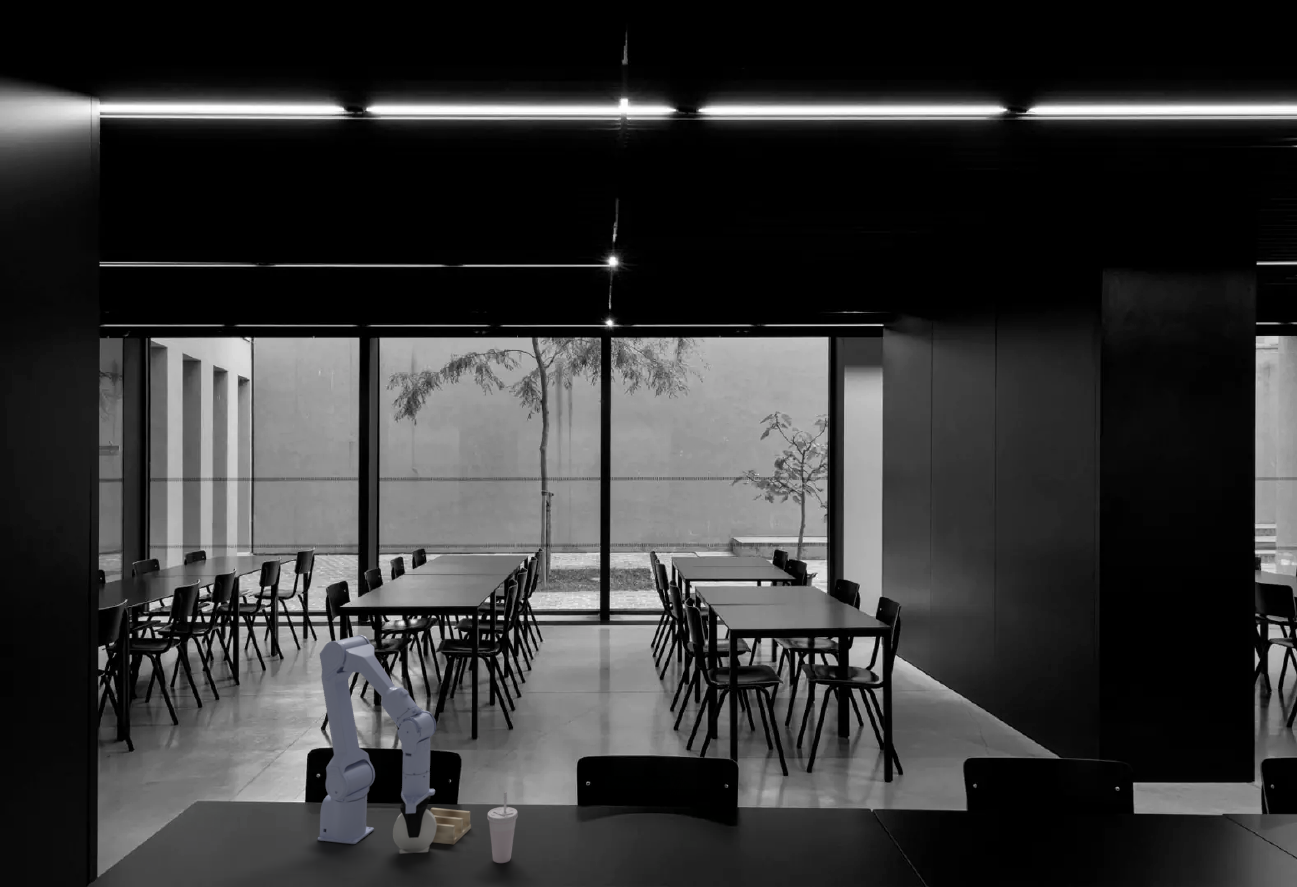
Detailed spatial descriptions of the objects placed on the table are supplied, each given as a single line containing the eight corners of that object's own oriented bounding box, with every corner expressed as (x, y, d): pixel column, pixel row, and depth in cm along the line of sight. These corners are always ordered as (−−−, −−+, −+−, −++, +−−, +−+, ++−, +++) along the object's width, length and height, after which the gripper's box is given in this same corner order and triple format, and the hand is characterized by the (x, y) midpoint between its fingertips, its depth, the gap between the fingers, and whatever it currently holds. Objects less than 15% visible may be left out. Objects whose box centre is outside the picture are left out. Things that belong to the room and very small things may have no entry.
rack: (412, 840, 181) (412, 822, 181) (431, 824, 190) (431, 807, 190) (453, 844, 179) (454, 827, 179) (470, 828, 188) (471, 811, 188)
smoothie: (510, 867, 168) (511, 798, 169) (481, 864, 170) (482, 796, 170) (521, 853, 175) (522, 787, 175) (493, 851, 176) (494, 785, 177)
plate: (392, 854, 174) (393, 811, 175) (393, 849, 176) (394, 807, 177) (435, 851, 175) (436, 809, 176) (436, 847, 177) (437, 805, 178)
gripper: (430, 781, 170) (429, 848, 169) (438, 759, 184) (437, 820, 184) (396, 783, 169) (394, 850, 168) (407, 760, 183) (405, 821, 183)
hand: (414, 834), depth 176 cm, fingers closed on plate, 2 cm apart
